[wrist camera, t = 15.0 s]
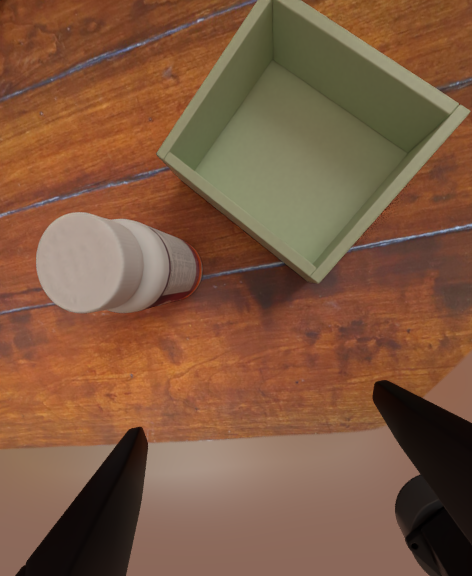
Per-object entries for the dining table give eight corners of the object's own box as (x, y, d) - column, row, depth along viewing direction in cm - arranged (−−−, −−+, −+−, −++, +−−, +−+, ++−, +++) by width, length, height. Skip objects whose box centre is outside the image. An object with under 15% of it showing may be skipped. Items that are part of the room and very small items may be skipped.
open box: (419, 153, 18) (471, 110, 13) (308, 282, 20) (318, 284, 15) (271, 51, 20) (270, -21, 15) (181, 180, 22) (155, 153, 17)
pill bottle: (145, 297, 23) (24, 318, 12) (148, 237, 22) (25, 200, 11) (202, 302, 22) (129, 331, 11) (206, 240, 21) (134, 202, 10)
